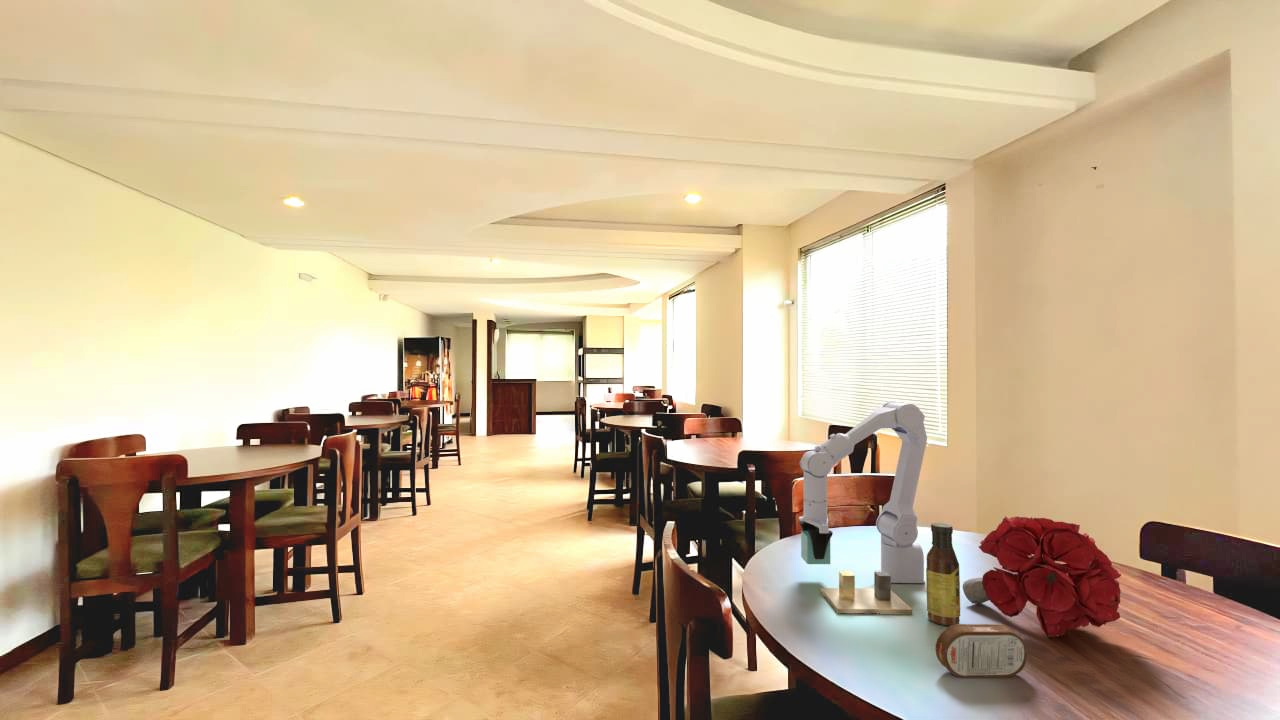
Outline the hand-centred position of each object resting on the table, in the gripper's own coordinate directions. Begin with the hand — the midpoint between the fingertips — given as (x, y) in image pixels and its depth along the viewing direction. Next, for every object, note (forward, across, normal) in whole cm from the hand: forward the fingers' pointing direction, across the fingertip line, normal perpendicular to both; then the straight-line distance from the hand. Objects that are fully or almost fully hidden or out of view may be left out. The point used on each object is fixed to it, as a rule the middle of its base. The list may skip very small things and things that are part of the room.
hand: (815, 554), depth 146 cm
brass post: (+6, +14, +3) cm, 16 cm away
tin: (+7, +45, +16) cm, 48 cm away
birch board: (+6, +14, +7) cm, 17 cm away
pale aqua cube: (+1, 0, 0) cm, 1 cm away
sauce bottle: (+7, +23, +20) cm, 31 cm away
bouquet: (+7, +25, +38) cm, 46 cm away
